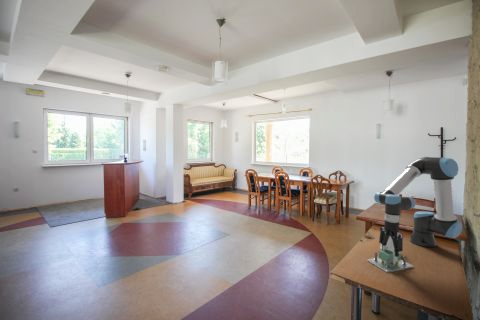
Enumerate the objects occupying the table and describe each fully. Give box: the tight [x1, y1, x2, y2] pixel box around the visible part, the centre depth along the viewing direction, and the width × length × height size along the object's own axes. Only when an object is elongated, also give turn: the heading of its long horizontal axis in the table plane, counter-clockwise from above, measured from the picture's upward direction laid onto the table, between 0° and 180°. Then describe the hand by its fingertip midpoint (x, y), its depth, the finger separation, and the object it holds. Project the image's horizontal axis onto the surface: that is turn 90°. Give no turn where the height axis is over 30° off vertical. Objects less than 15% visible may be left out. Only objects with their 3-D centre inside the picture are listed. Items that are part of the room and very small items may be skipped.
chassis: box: [366, 251, 415, 274], centre depth 141 cm, size 20×14×6 cm
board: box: [378, 249, 402, 262], centre depth 141 cm, size 10×6×5 cm, turn 108°
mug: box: [379, 236, 394, 250], centre depth 159 cm, size 12×8×12 cm
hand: (389, 258), depth 141 cm, fingers closed on board, 6 cm apart
